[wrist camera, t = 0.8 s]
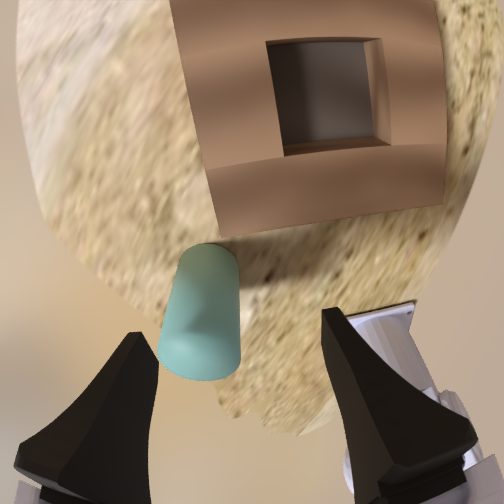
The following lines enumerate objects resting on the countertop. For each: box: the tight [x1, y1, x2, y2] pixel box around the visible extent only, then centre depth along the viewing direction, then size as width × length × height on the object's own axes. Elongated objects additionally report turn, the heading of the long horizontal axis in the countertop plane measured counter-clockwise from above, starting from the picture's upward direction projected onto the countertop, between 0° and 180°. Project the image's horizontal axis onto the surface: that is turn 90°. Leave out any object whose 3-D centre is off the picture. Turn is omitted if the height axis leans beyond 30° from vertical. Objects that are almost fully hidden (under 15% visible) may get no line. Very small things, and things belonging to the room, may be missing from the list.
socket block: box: [169, 0, 447, 238], centre depth 14 cm, size 14×14×3 cm
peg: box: [157, 244, 241, 381], centre depth 18 cm, size 4×4×8 cm
